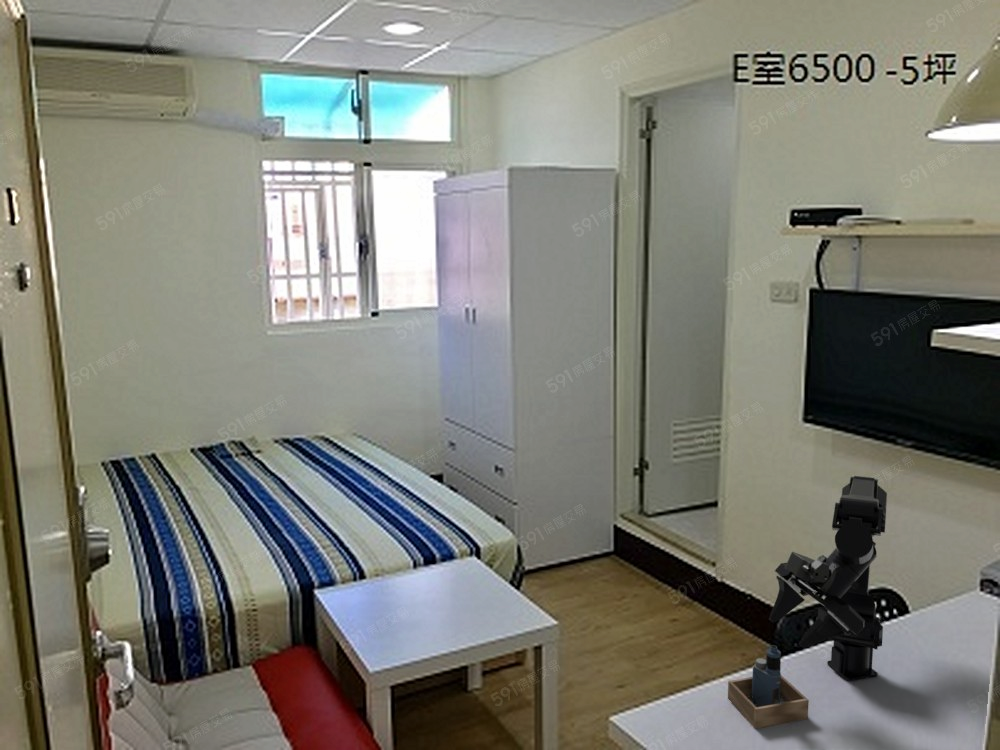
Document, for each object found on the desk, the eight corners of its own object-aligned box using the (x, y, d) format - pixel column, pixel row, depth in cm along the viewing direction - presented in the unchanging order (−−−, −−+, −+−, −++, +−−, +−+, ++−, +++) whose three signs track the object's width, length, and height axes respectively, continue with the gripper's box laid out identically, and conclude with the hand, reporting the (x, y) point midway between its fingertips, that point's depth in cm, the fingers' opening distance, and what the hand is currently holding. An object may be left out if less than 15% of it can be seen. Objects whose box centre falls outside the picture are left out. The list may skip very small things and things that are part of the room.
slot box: (777, 690, 143) (778, 672, 142) (807, 718, 134) (808, 699, 133) (727, 699, 140) (728, 681, 140) (755, 728, 132) (755, 709, 131)
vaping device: (772, 716, 135) (774, 652, 133) (748, 701, 139) (750, 639, 137) (782, 712, 136) (784, 647, 134) (759, 697, 141) (760, 635, 139)
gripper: (785, 519, 143) (729, 583, 143) (851, 558, 125) (787, 632, 125) (822, 555, 146) (767, 618, 146) (892, 599, 128) (829, 670, 128)
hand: (785, 633), depth 136 cm, fingers open, 9 cm apart
